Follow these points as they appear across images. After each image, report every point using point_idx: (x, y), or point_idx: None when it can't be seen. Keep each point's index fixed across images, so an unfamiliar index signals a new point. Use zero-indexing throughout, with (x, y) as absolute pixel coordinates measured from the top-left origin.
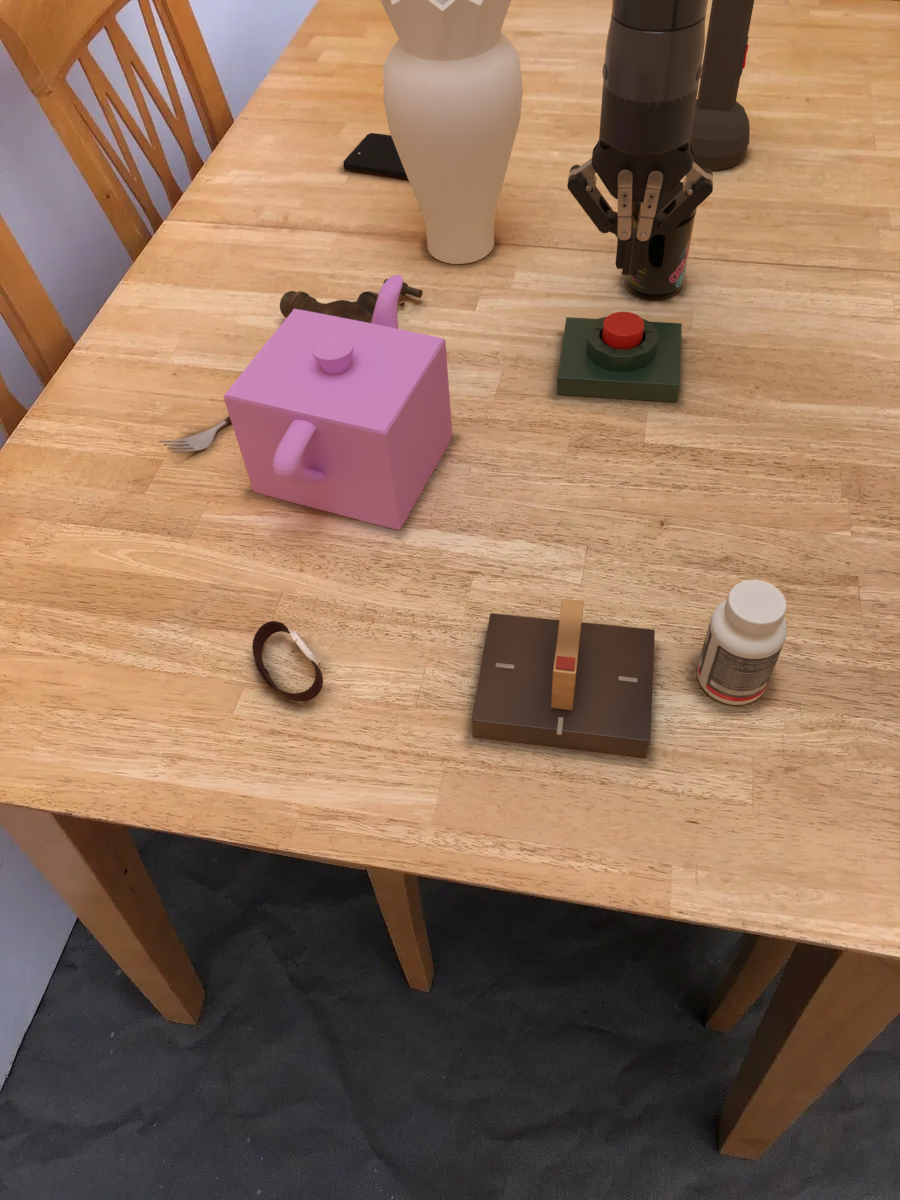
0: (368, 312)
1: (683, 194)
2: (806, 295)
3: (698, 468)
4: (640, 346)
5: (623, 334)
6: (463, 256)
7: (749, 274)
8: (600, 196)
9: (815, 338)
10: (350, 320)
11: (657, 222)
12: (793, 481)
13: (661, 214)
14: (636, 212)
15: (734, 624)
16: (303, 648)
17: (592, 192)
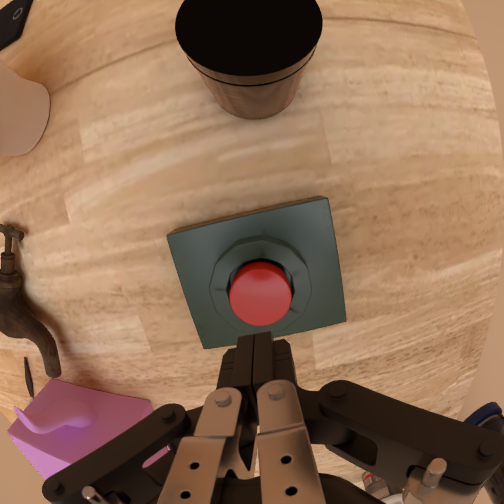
0: (11, 318)
1: (402, 466)
2: (433, 74)
3: (366, 378)
4: (291, 307)
5: (267, 323)
6: (28, 147)
7: (366, 39)
8: (141, 465)
9: (456, 153)
10: (41, 451)
11: (321, 442)
12: (434, 360)
13: (330, 426)
14: (198, 68)
15: None
16: None
17: (131, 498)
